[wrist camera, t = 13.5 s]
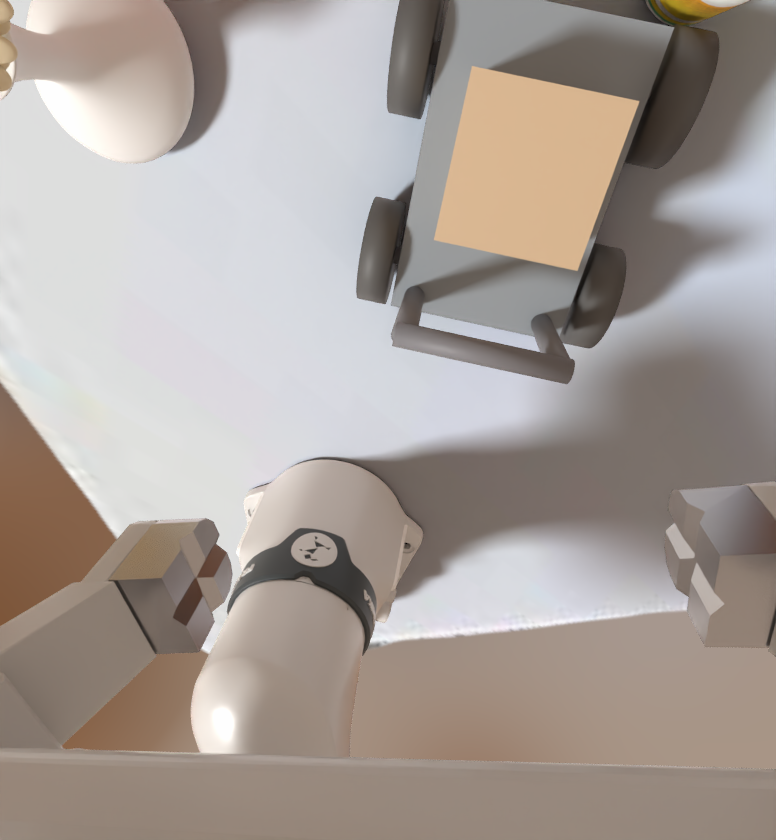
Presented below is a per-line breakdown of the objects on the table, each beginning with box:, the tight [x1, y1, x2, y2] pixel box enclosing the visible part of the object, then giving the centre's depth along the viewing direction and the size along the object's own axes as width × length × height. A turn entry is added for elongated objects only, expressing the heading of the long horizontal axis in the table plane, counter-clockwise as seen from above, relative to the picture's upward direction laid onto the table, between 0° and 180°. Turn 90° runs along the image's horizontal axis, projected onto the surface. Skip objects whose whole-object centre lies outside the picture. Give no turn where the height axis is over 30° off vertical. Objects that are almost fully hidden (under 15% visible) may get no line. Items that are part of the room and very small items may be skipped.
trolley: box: [356, 0, 719, 384], centre depth 30 cm, size 19×17×14 cm
